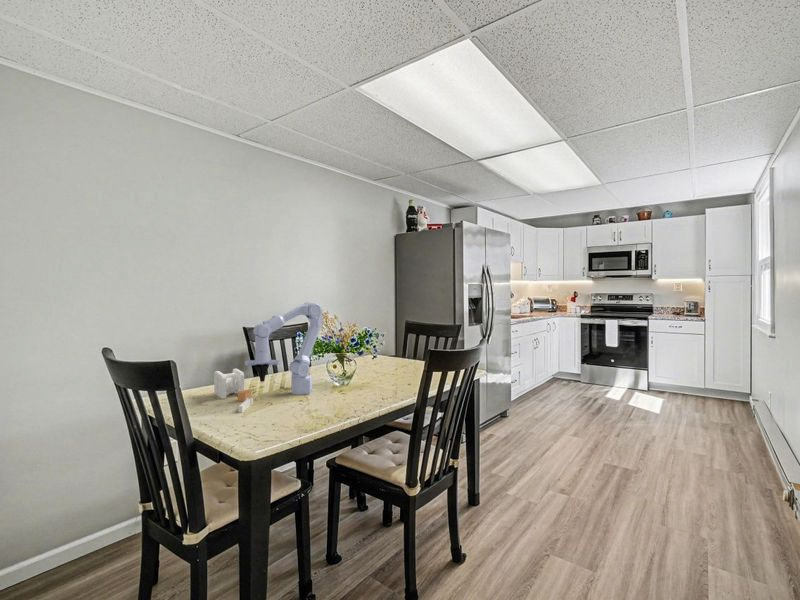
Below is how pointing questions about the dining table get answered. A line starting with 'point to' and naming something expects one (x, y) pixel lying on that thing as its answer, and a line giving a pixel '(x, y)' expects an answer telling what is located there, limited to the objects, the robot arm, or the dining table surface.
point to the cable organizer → (228, 383)
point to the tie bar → (245, 404)
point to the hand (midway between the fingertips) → (262, 381)
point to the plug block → (244, 395)
